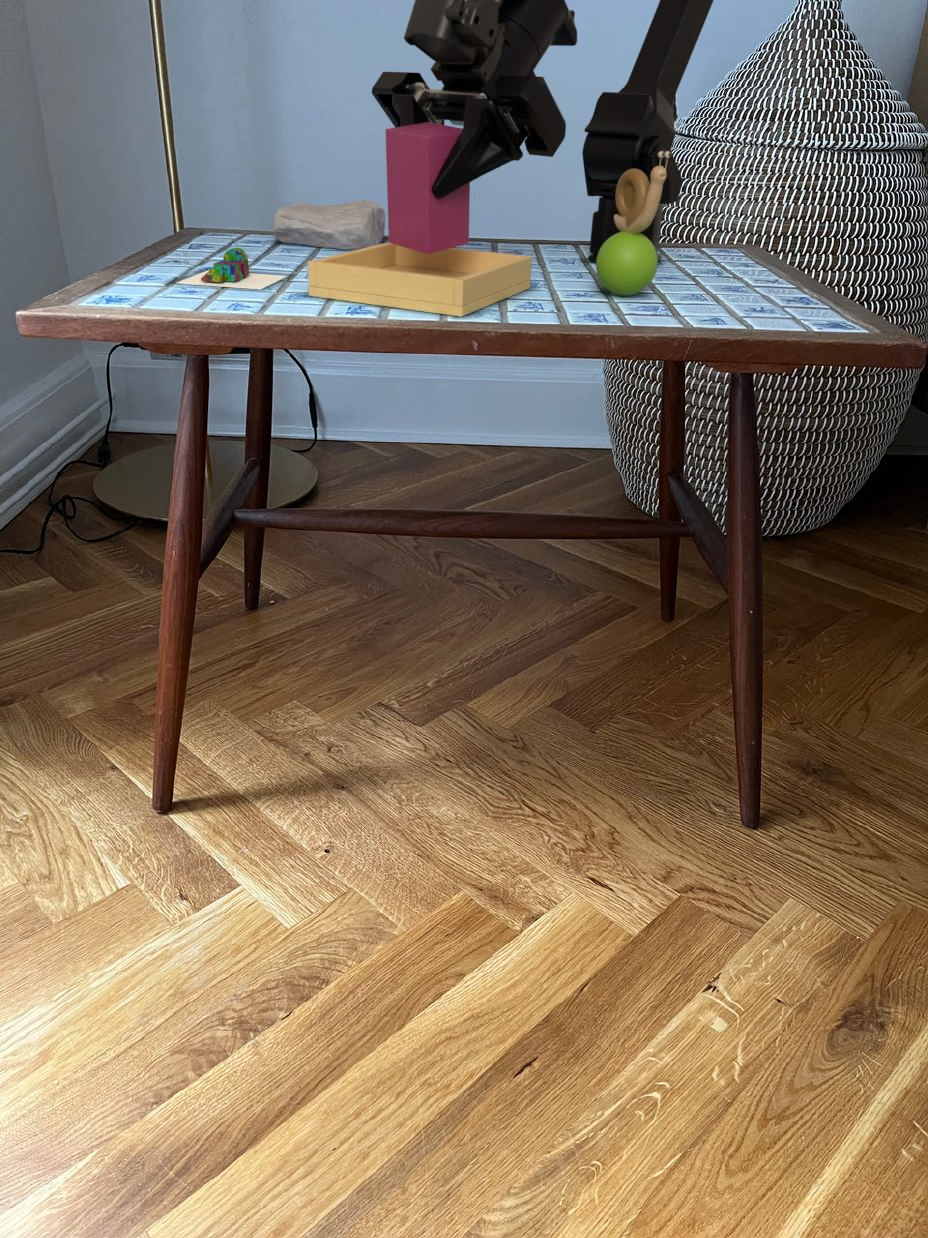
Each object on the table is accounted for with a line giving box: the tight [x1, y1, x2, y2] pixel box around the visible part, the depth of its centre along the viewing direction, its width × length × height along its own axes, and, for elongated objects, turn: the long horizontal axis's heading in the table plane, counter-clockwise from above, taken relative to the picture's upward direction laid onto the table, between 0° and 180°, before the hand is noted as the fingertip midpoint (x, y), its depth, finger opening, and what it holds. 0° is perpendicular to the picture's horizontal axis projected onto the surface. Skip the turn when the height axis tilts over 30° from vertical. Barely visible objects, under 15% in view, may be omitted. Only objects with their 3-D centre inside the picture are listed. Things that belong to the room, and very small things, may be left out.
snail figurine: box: [595, 151, 671, 297], centre depth 83 cm, size 5×6×12 cm
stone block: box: [273, 200, 386, 251], centre depth 107 cm, size 12×5×10 cm
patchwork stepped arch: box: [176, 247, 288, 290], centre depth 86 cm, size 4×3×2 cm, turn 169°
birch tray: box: [307, 241, 533, 318], centre depth 84 cm, size 15×15×3 cm
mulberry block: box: [384, 122, 471, 254], centre depth 81 cm, size 5×5×9 cm
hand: (413, 191), depth 80 cm, fingers closed on mulberry block, 5 cm apart
